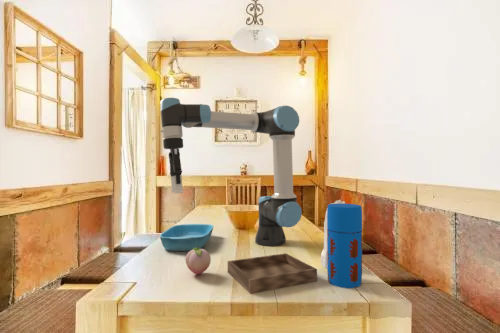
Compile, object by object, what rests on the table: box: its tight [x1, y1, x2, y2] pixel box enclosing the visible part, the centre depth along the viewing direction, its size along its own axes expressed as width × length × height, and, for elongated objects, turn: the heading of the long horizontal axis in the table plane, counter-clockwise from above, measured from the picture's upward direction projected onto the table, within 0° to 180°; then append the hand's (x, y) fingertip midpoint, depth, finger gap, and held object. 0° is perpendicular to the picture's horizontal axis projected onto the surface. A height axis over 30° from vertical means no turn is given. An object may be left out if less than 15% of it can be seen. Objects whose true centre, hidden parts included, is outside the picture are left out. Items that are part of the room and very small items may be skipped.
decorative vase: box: [320, 199, 346, 269], centre depth 117 cm, size 11×11×25 cm
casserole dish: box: [159, 223, 214, 252], centre depth 151 cm, size 37×22×7 cm, turn 179°
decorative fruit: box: [184, 246, 212, 276], centre depth 108 cm, size 9×8×10 cm
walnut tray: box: [227, 253, 318, 294], centre depth 106 cm, size 24×20×4 cm
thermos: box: [326, 203, 363, 289], centre depth 101 cm, size 11×11×25 cm
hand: (177, 192), depth 120 cm, fingers open, 13 cm apart
